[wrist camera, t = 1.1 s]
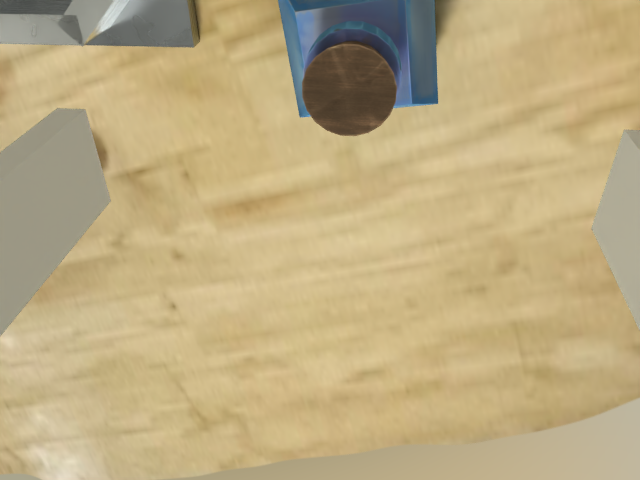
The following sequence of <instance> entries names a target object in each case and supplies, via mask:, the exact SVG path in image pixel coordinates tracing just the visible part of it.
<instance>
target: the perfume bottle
mask: <svg viewBox="0 0 640 480" xmlns="http://www.w3.org/2000/svg"><path fill="white" fill-rule="evenodd" d="M278 2H279V8H280V13H281V19H282V24H283V29H284V35H285V40H286V45H287V51H288V56H289V62H290V67H291V72H292V78H293V83H294V88H295V94H296V99H297V105H298V110H299V115H300V117H310V116H311V117H312V118H313V120H314V121H315V122H316V123H317V124H319V125H320V126H321V127H323V128H324V129H325V130H327V131H330V132H332V133H335V134H338V135H343V136H357V135H361V134H365V133H369V132H370V131H372V130H374V129H376V128H377V127H379V126H381V124H382V123H383V122H384V121H385V120H386V119H387V118H388V117H389V115H390V114H391V112H392V109H393V108H400V107H410V106H420V105H430V104H438V88H437V59H436V29H435V0H278Z"/></svg>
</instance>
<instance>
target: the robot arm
mask: <svg viewBox="0 0 640 480" xmlns="http://www.w3.org/2000/svg"><path fill="white" fill-rule="evenodd" d="M110 201H111V200H110V196H109V192H108V189H107V185H106V182H105V178H104V175H103V171H102V167H101V164H100V160H99V157H98V153H97V150H96V146H95V142H94V139H93V135H92V132H91V128H90V125H89V121H88V117H87V114H86V110H85V109H63V108H57V109H56V110H54V111H53V112H52V113H50V114H49V115H48V116H47V117H45V118H44V119H43V120H41V121H40V122H39V123H38V124H36V125H35V126H34V127H32V128H31V129H30V130H29V131H27V132H26V133H25V134H23V135H22V136H21V137H19V138H18V139H17V140H16V141H14V142H13V143H12V144H10V145H9V146H8V147H7V148H5V149H4V150H3V151H1V152H0V336H1V335H2V334H3V332H4V331H5V330H6V329H7V327H8V326H9V325H10V324H11V323H12V321H13V320H14V319H15V318H16V316H17V315H18V314H19V313H20V312H21V310H22V309H23V308H24V307H25V305H26V304H27V303H28V302H29V301H30V299H31V298H32V297H33V296H34V294H35V293H36V292H37V291H38V289H39V288H40V287H41V286H42V285H43V283H44V282H45V281H46V280H47V278H48V277H49V276H50V275H51V274H52V272H53V271H54V270H55V269H56V267H57V266H58V265H59V264H60V263H61V261H62V260H63V259H64V258H65V256H66V255H67V254H68V253H69V251H70V250H71V249H72V248H73V247H74V245H75V244H76V243H77V242H78V240H79V239H80V238H81V237H82V236H83V234H84V233H85V232H86V231H87V229H88V228H89V227H90V226H91V225H92V223H93V222H94V221H95V220H96V218H97V217H98V216H99V215H100V213H101V212H102V211H103V210H104V209H105V207H106V206H107V205H108V204H109V202H110ZM592 230H593V233H594V235H595V237H596V239H597V241H598V243H599V245H600V247H601V250H602V252H603V254H604V256H605V258H606V260H607V262H608V264H609V267H610V269H611V271H612V273H613V275H614V277H615V279H616V281H617V283H618V286H619V288H620V290H621V292H622V294H623V296H624V298H625V300H626V303H627V305H628V307H629V309H630V311H631V313H632V315H633V317H634V320H635V322H636V324H637V326H638V328H639V330H640V130H624V132H623V135H622V138H621V141H620V144H619V147H618V150H617V153H616V156H615V159H614V162H613V165H612V168H611V171H610V174H609V177H608V180H607V183H606V186H605V189H604V192H603V195H602V198H601V201H600V204H599V207H598V210H597V213H596V216H595V219H594V222H593V225H592Z"/></svg>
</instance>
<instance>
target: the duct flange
mask: <svg viewBox="0 0 640 480" xmlns="http://www.w3.org/2000/svg"><path fill="white" fill-rule="evenodd" d="M199 42H200V41H199V34H198V26H197V19H196V12H195V5H194V0H0V44H41V45H81V46H84V45H106V46H154V47H195V46H196V45H197V44H198V43H199Z"/></svg>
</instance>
